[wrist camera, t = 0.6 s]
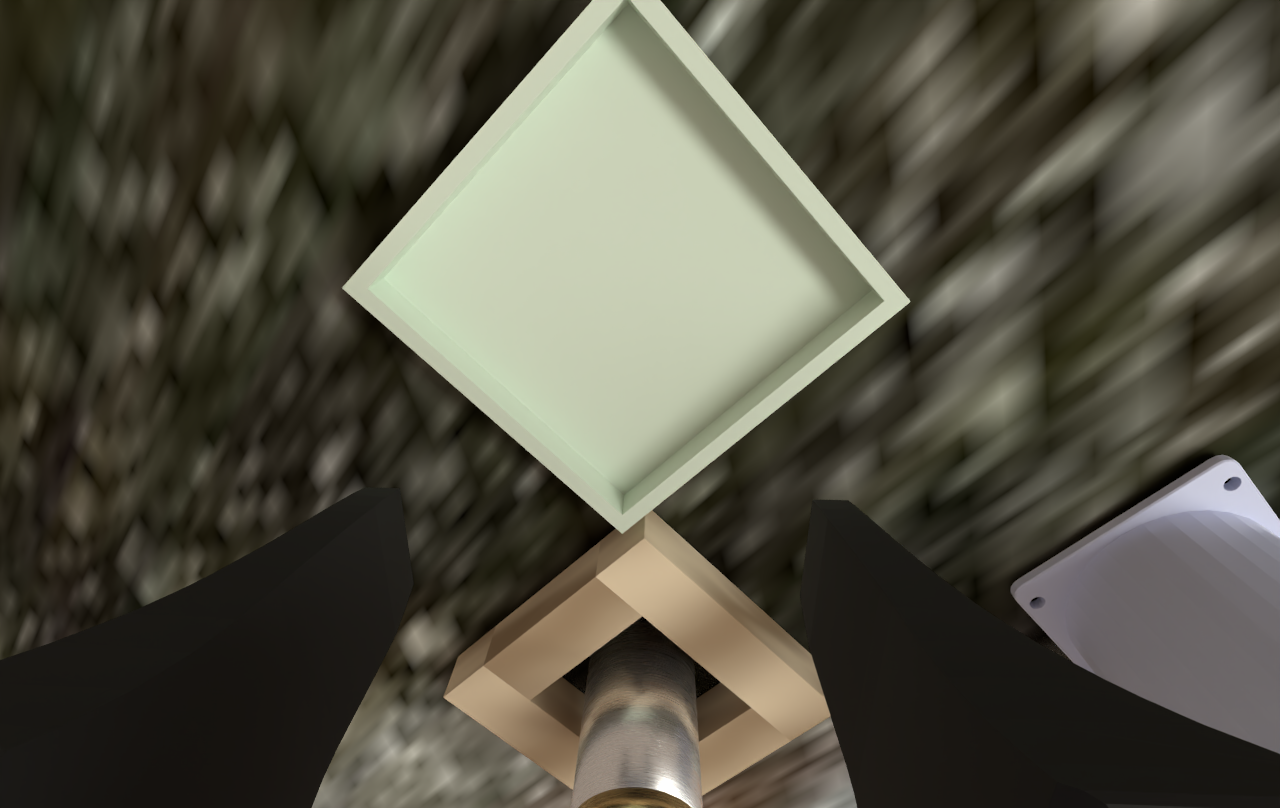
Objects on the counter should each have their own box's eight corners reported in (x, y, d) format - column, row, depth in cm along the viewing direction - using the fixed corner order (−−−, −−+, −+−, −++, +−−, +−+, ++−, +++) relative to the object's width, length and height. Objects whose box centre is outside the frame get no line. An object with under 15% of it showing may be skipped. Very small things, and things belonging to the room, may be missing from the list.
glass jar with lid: (715, 664, 26) (736, 880, 19) (640, 715, 28) (633, 938, 20) (643, 602, 25) (636, 806, 18) (568, 659, 26) (533, 872, 19)
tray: (890, 285, 20) (910, 301, 19) (624, 503, 24) (622, 533, 22) (630, -26, 17) (627, -40, 16) (367, 273, 21) (342, 288, 19)
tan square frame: (826, 668, 26) (839, 710, 24) (638, 789, 29) (637, 835, 27) (645, 504, 24) (644, 538, 22) (458, 656, 27) (443, 697, 25)
